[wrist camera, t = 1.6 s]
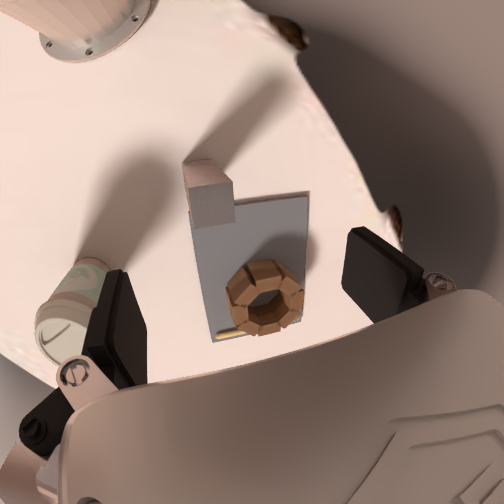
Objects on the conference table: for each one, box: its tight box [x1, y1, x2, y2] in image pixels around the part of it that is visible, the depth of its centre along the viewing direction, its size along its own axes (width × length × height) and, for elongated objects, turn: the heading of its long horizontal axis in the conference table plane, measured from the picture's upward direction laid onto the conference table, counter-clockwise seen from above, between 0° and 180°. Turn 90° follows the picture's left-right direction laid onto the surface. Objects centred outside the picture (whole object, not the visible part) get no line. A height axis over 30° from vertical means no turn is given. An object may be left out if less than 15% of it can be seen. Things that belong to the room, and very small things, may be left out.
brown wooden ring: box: [225, 259, 304, 336], centre depth 35 cm, size 9×9×4 cm
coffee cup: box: [35, 258, 111, 367], centre depth 24 cm, size 9×8×12 cm
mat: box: [189, 195, 308, 343], centre depth 35 cm, size 20×14×1 cm
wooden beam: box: [182, 159, 236, 229], centre depth 23 cm, size 3×3×11 cm
